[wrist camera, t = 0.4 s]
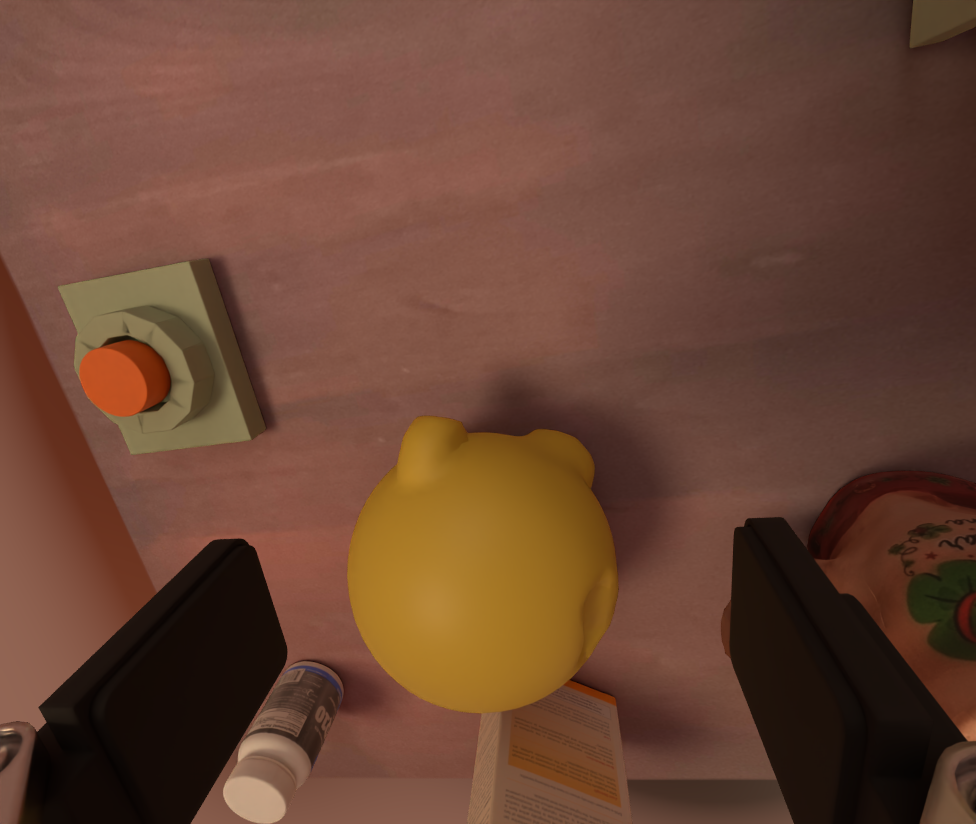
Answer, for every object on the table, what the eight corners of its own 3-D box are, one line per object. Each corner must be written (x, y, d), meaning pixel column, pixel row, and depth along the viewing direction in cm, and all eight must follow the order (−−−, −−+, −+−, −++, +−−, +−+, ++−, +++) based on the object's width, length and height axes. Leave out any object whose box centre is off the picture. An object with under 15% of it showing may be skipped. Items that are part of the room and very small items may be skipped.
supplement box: (481, 698, 37) (445, 934, 25) (507, 651, 36) (481, 881, 23) (589, 741, 38) (604, 994, 25) (619, 696, 36) (652, 947, 24)
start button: (95, 344, 28) (66, 353, 26) (155, 334, 27) (129, 343, 25) (123, 409, 29) (97, 421, 27) (181, 401, 28) (158, 412, 26)
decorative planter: (668, 619, 33) (739, 881, 20) (685, 440, 29) (789, 627, 16) (1027, 637, 30) (1372, 950, 18) (1104, 444, 26) (1636, 671, 13)
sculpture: (633, 634, 31) (541, 864, 20) (453, 565, 37) (306, 716, 26) (669, 396, 26) (568, 538, 15) (450, 358, 31) (261, 440, 20)
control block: (83, 282, 30) (24, 291, 26) (209, 258, 28) (164, 264, 25) (151, 443, 33) (107, 469, 30) (267, 429, 32) (233, 454, 28)
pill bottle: (344, 713, 40) (292, 836, 32) (283, 699, 40) (217, 819, 32) (347, 666, 38) (292, 784, 30) (283, 652, 38) (213, 766, 30)
